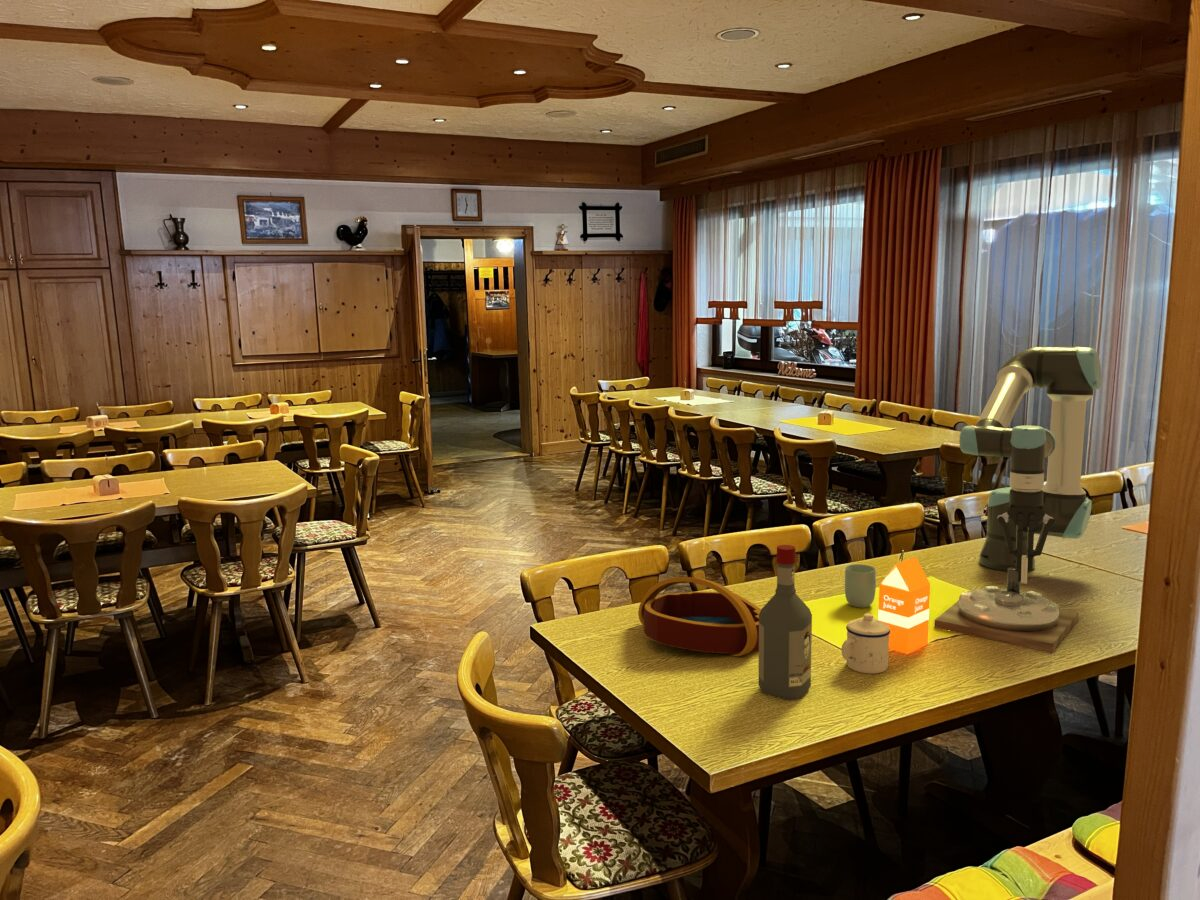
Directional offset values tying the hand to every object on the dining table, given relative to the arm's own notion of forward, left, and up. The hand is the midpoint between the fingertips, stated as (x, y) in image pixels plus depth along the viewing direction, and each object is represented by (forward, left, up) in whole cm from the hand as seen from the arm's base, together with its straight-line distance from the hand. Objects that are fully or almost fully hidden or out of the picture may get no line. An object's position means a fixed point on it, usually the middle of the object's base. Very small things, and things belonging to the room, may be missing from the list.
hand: (1023, 581), depth 217 cm
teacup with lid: (+56, -18, -9) cm, 59 cm away
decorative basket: (+62, -56, -9) cm, 84 cm away
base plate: (+10, -1, -8) cm, 13 cm away
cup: (+18, -35, -9) cm, 40 cm away
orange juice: (+38, -16, -9) cm, 42 cm away
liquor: (+76, -26, -9) cm, 80 cm away
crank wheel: (+10, -1, -6) cm, 11 cm away
